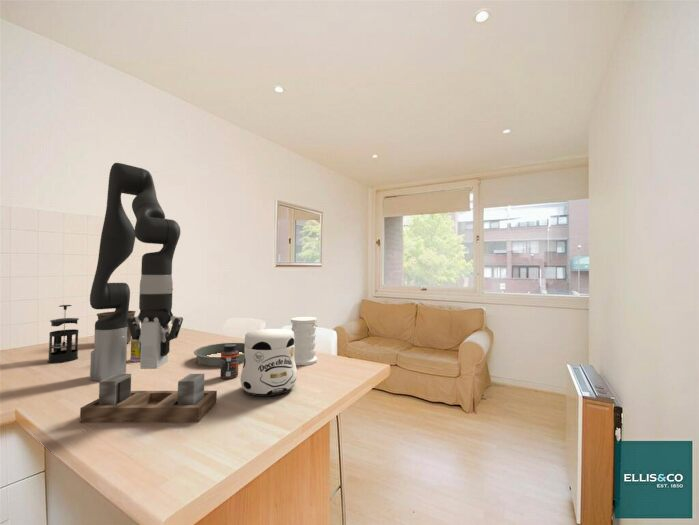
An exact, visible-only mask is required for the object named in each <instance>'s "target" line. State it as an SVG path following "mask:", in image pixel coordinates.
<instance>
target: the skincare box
mask: <svg viewBox="0 0 699 525" xmlns="http://www.w3.org/2000/svg"><path fill="white" fill-rule="evenodd" d="M140 324H141V325H140V328H141V359H140V362H139V363H140V364H139V366H140V368H139V369H141V370H153V369H155V370H156V369H159V368H161V367H162V366H163V365H165V364H166V363H168V362H169V353H168V354H167V355H166V356H160V349H161V342H162V341H161V335H160V323H159V322H154V321H150V322H143V323H141V322H140ZM169 324H170V322H169V323H168V325H169ZM165 328H166V327H165ZM165 328H163V330H165Z"/></svg>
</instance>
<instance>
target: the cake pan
mask: <svg viewBox="0 0 699 525" xmlns="http://www.w3.org/2000/svg"><path fill="white" fill-rule="evenodd" d="M226 344H236V349H237V351H238V352H242V353H243V354H239V362H238V363H239V364H243V363H244V359H245V353H244V348H245V342H223V343H222V342H221V343H214V344H209V345H205V346H201V347H198V348H197V349H195V350H194V351H193V355H195V356H196V360H197V364H199V363H200V364H199V365H201V364H202V365H201V366H205V365H207V366H206V367H221V357H209V356H207V355H211V354H217V353H222V352H223V351H224V345H226ZM242 362H243V363H242Z"/></svg>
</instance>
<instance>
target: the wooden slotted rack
mask: <svg viewBox="0 0 699 525" xmlns="http://www.w3.org/2000/svg"><path fill="white" fill-rule="evenodd" d="M98 382H99V385H98V388H99V389H98V398H97V399H95V400H93V401H91V402H89V403H87V404H85V405H83V406H81V407H80V408H79V410H80V411H79V414H80V415H79V423H83V424H84V423H85V424H86V423H89V424H91V423H92V424H95V423H96V424H97V423H99V424H102V423H103V424H104V423H108V424H109V423H112V424H113V423H114V424H115V423H121V424H123V423H129V424H130V423H200V421H202V420H203V419H204V418H205V416H206V415H207V414H208V413H209V412H210V411H211V410H212V409H213V408H214V406H216V405H217V401H218V400H217V397H218V396H217V394H218V392H217V391H218V390H205V373H188V374H187V375H186V376H183V378H182V379H180V380H179V381H178V383H177V390H132V373H126V374H115V375H113V376H110V377H108V378H106V379H104V380H102V381H98Z"/></svg>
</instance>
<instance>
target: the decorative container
mask: <svg viewBox="0 0 699 525" xmlns="http://www.w3.org/2000/svg"><path fill="white" fill-rule="evenodd" d="M317 320H318V319H317V317H315V316H314V317H313V316H297V317H291V318H290V323H291V324H292V326H291V331H293V332H294V345H295V348H294V360H295V364H296V366H298V365H306V366H310V365H309V364H312V365H314V364H313V363H315V362H316V363H317V362H318V357H317V356H316V355H315V354H316V344H317V342H316V337H317V336H316V331H317V330H316V329H317V328H316V327H317V326H316V323H317V322H318V321H317ZM316 363H315V364H316Z"/></svg>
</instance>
